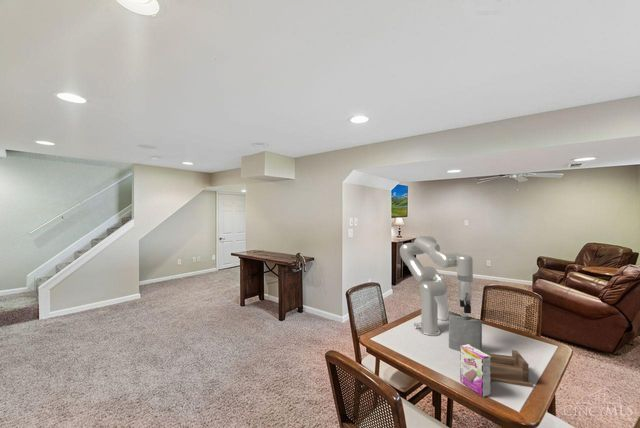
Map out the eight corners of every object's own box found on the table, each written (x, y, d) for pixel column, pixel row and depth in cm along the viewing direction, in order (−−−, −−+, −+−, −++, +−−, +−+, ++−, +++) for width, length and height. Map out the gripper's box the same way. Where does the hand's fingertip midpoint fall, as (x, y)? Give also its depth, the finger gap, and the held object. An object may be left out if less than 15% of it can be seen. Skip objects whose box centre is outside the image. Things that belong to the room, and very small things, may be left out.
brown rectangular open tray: (532, 387, 115) (532, 366, 115) (470, 377, 122) (470, 358, 122) (518, 367, 129) (518, 349, 129) (463, 360, 136) (463, 342, 136)
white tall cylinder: (449, 321, 184) (449, 278, 184) (434, 320, 187) (434, 277, 187) (447, 316, 193) (446, 275, 193) (432, 315, 196) (432, 274, 196)
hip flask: (481, 353, 143) (481, 315, 143) (482, 356, 140) (481, 318, 139) (449, 345, 151) (448, 310, 151) (448, 348, 148) (448, 312, 147)
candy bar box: (459, 381, 119) (459, 345, 119) (467, 379, 121) (467, 343, 121) (482, 398, 108) (482, 358, 108) (491, 395, 110) (491, 355, 110)
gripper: (454, 274, 154) (454, 304, 154) (460, 281, 138) (461, 315, 138) (468, 275, 152) (469, 305, 152) (477, 282, 136) (477, 316, 135)
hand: (465, 309), depth 145 cm, fingers open, 9 cm apart
